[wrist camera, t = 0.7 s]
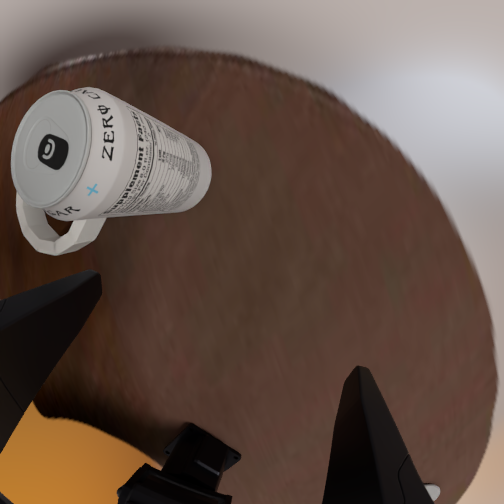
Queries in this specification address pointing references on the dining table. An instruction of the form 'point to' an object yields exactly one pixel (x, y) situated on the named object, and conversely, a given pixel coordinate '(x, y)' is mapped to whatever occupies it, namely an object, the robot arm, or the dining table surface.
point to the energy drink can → (104, 159)
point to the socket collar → (47, 238)
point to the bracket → (433, 491)
